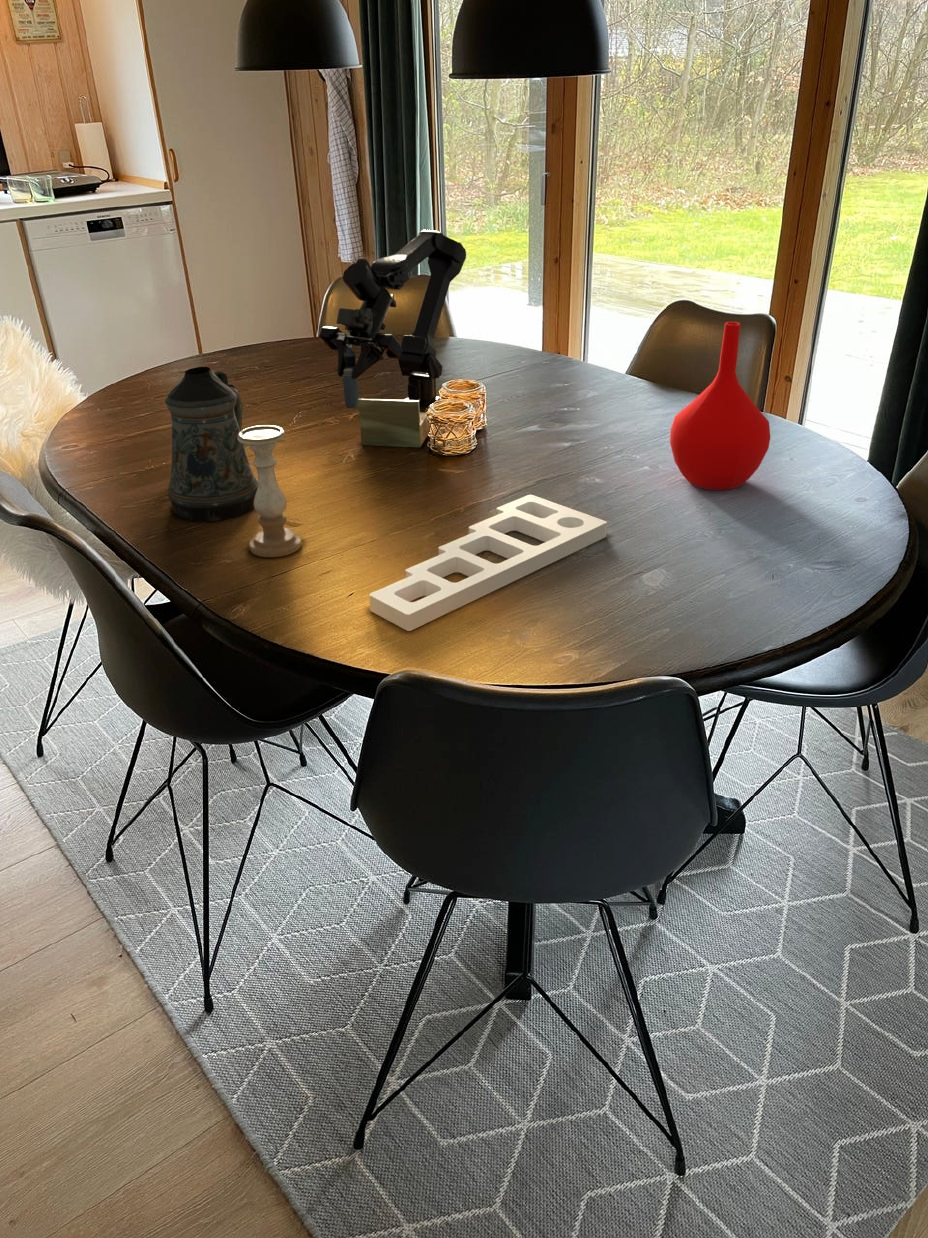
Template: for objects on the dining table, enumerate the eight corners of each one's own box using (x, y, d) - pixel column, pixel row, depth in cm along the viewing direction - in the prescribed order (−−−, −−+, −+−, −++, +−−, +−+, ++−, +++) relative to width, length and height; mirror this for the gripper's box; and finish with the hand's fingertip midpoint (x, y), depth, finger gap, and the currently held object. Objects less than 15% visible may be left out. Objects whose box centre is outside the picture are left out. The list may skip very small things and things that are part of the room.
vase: (658, 493, 181) (672, 332, 166) (674, 460, 195) (688, 309, 181) (758, 504, 175) (782, 338, 160) (767, 469, 190) (789, 315, 175)
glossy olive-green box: (373, 430, 216) (370, 386, 211) (429, 432, 214) (428, 387, 209) (361, 445, 207) (358, 399, 202) (420, 447, 205) (418, 401, 200)
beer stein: (168, 526, 172) (142, 388, 160) (174, 486, 188) (151, 359, 176) (261, 516, 175) (243, 380, 162) (259, 478, 191) (242, 352, 179)
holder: (408, 631, 138) (407, 615, 136) (332, 590, 149) (331, 575, 148) (607, 536, 164) (608, 521, 163) (530, 507, 176) (530, 494, 174)
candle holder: (277, 562, 158) (262, 444, 148) (238, 551, 162) (221, 435, 152) (312, 542, 165) (299, 428, 154) (273, 532, 169) (259, 420, 159)
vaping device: (361, 401, 212) (356, 346, 206) (356, 408, 208) (350, 353, 202) (349, 401, 213) (344, 346, 207) (344, 408, 208) (338, 353, 202)
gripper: (319, 287, 206) (292, 351, 203) (391, 295, 197) (364, 362, 195) (344, 317, 215) (319, 378, 213) (414, 325, 207) (388, 389, 204)
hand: (346, 376), depth 206 cm, fingers closed on vaping device, 3 cm apart
